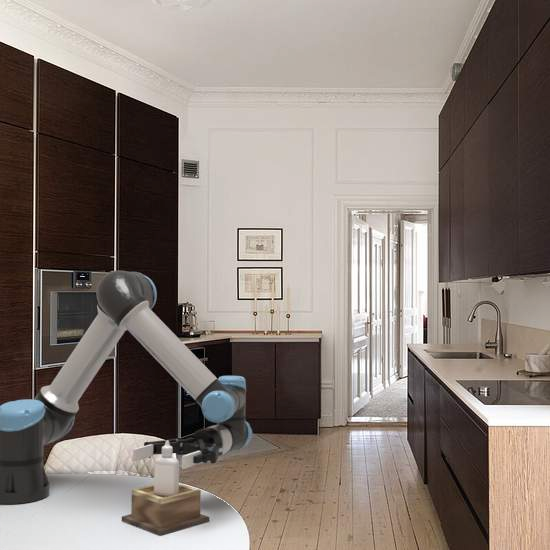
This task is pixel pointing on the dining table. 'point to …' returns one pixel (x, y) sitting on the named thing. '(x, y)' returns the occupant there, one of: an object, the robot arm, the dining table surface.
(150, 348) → the robot arm
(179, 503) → the display pedestal
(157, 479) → the eye dropper bottle
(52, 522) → the dining table surface
